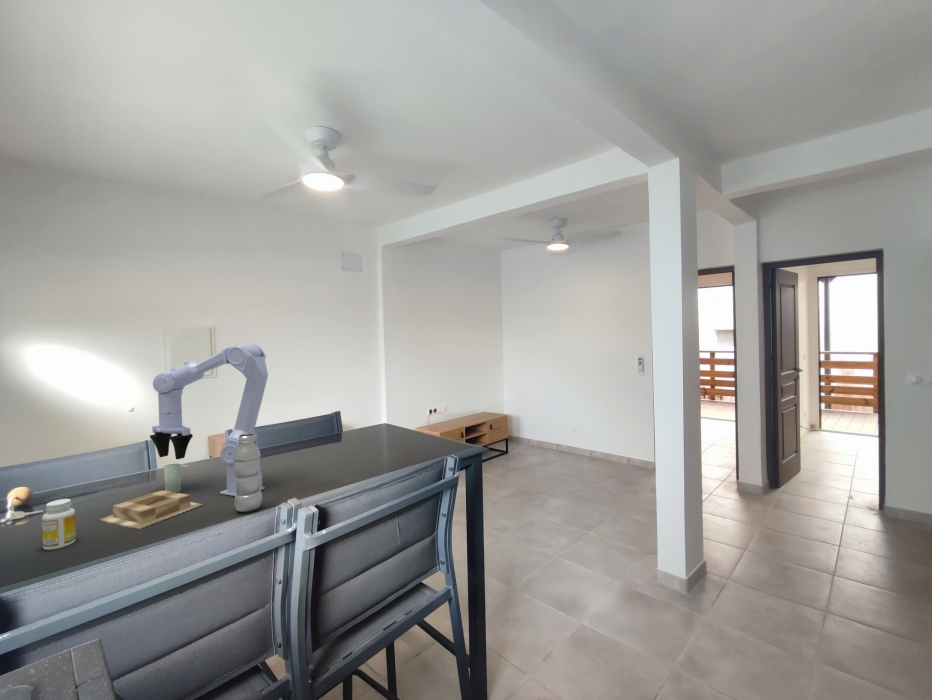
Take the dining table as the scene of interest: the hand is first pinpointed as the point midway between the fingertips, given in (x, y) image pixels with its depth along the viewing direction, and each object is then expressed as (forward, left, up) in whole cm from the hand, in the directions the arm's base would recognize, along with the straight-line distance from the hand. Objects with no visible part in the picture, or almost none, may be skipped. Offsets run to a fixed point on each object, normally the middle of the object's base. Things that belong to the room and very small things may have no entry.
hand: (172, 457), depth 128 cm
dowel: (0, 0, -10) cm, 10 cm away
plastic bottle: (-35, +3, -11) cm, 37 cm away
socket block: (-12, +13, -10) cm, 21 cm away
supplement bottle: (-11, +32, -11) cm, 35 cm away
